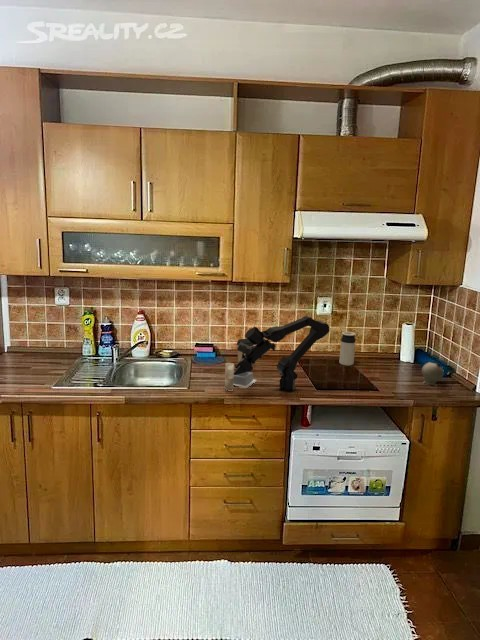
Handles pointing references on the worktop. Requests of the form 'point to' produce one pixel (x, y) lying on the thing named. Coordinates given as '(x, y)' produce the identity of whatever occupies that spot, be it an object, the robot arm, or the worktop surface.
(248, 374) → the socket
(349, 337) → the travel mug
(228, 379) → the peg
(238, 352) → the coffee cup
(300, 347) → the robot arm
